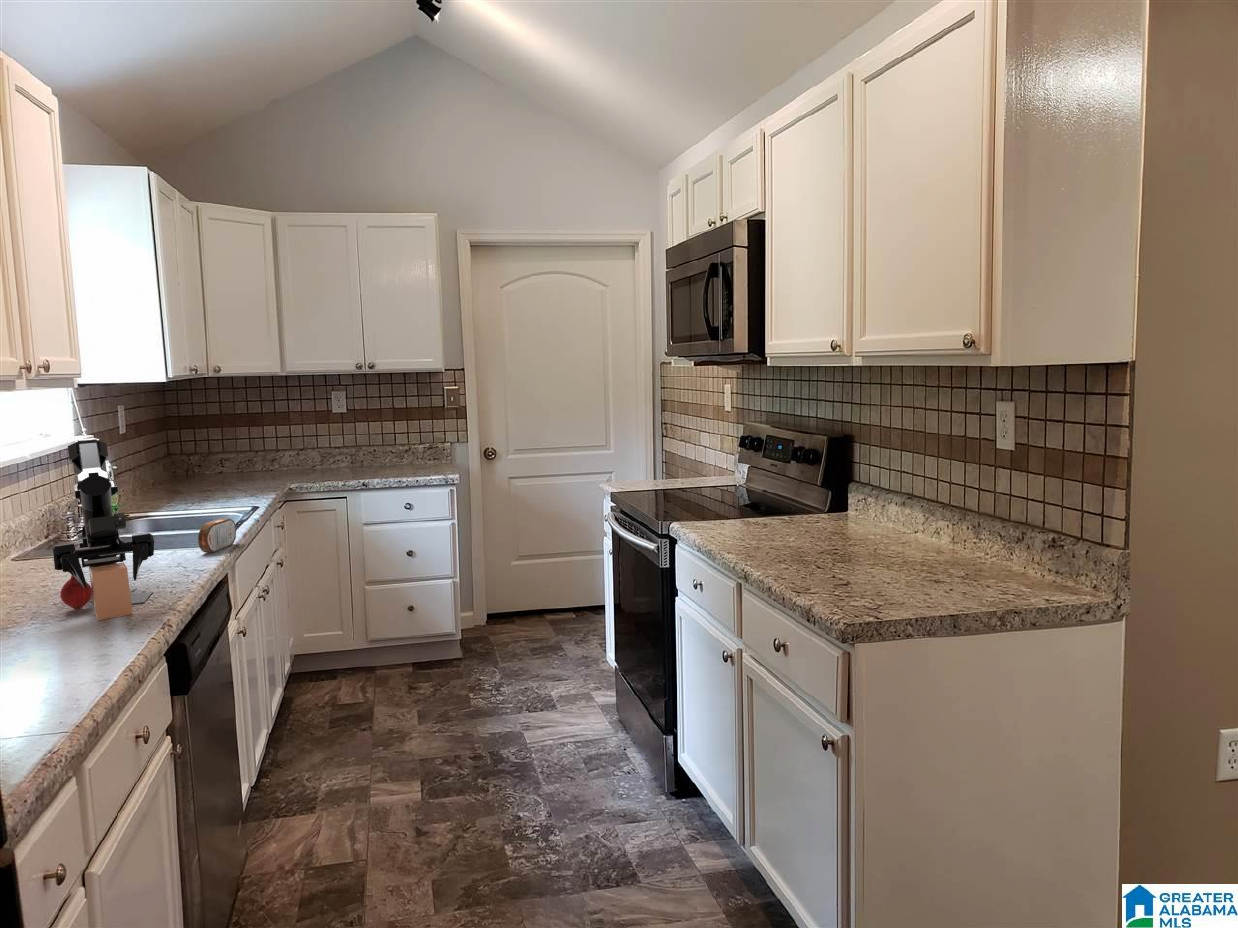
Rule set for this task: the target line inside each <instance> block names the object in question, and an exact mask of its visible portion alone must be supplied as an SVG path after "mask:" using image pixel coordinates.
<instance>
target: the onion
mask: <svg viewBox="0 0 1238 928" xmlns="http://www.w3.org/2000/svg"><path fill="white" fill-rule="evenodd" d="M59 594H60V595H59V596H60V598H61V601H62V602H63V603H64V604H65V605H66V606H68V607H70V608H71V609H74V611H80V610H82V608H83V607H85V606H86V605H87V604H88V603H89V602H90V600H91V599H92V597H93V593H92V589H91V584H89V583H88V582H87V581H86V588H85V589H84V588H83V587H82V585H81V584H80V583H79V582H78V580H77V579H76V578H75V577H74V576H72V575H71V574H70V578H69V579H68V580H67V581H66V582H65V583H64V584H63V585H62V587H61V590H60V593H59Z"/></svg>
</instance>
